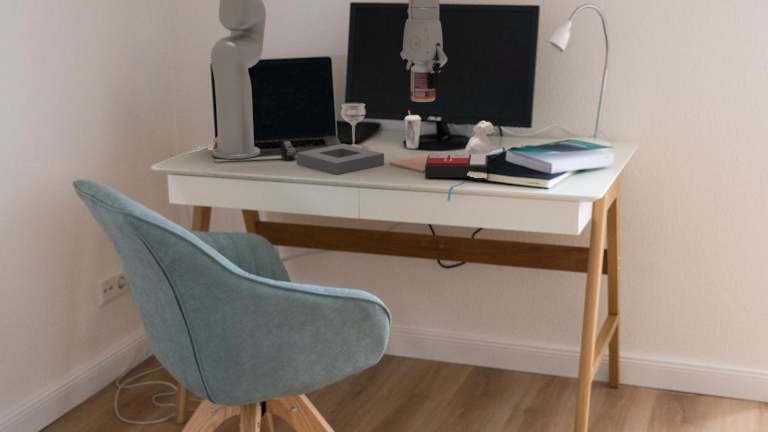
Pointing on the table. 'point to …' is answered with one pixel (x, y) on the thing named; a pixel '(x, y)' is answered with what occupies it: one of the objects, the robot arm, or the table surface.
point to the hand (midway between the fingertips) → (423, 86)
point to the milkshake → (412, 130)
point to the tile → (412, 163)
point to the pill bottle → (421, 83)
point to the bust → (480, 139)
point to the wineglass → (353, 115)
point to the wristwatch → (287, 151)
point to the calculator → (454, 164)
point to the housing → (340, 159)
